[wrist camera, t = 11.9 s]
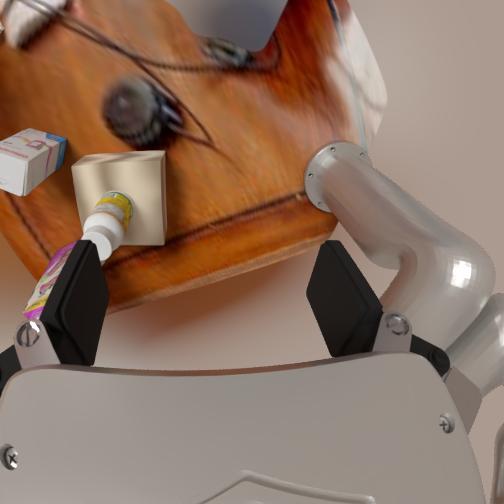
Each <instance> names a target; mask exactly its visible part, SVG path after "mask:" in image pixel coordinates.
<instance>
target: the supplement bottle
mask: <svg viewBox="0 0 504 504" xmlns="http://www.w3.org/2000/svg"><path fill="white" fill-rule="evenodd" d="M132 216H133V203H132V201H131V199H130V197H129V196H128V195H126V194H125V193H123V192H121V191H115V190H114V191H109V192H107V193H105V194H104V195H103V196H102V197H101V199H100V200H99V202H98V203H97V205H96V206H95V208H94V209H93V211H92V212H91V214H90V215H89V217H88V218H87V220H86V221H85V224H84V228H83V232H84V235H83V237H82V239H81V240H92V242H93V243H95V244H96V246H97V250H98V254H99V258H100V261H103V260H106V259H107V258H109V257H110V255H111V253H112V251H113V250H115V249H116V248H118V247H119V246H120V244H121V242H122V240H123V238H124V235H125V233H126V230H127V228H128V225H129V223H130V220H131V218H132Z"/></svg>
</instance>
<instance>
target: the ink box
mask: <svg viewBox="0 0 504 504" xmlns="http://www.w3.org/2000/svg"><path fill="white" fill-rule="evenodd" d="M66 142H67V138H63V137H60V136H57V135H53V134H49V133H46V132H42V131H38V130H34V129H31V128H28V129H26V130H24V131H22V132H19V133H17V134H15V135H13V136H11V137H9V138H7V139H5V140H3V141H1V142H0V189H3V190H5V191H8V192H11V193H13V194H16V195H18V196H21V195H24V196H26V195H27V194H28V193H29V192H30V191H32V190H33V189H34V188H35V187H36V186H37V185H39V184H40V183H41V182H42V181H43V180H44V179H46V178H47V177H48V176H49V175H51V174H52V173H53V172H54V171H56V170H57V169H58V168H60V167H61V166H62V163H63V158H64V152H65V147H66Z"/></svg>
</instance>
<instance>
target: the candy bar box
mask: <svg viewBox="0 0 504 504" xmlns="http://www.w3.org/2000/svg"><path fill="white" fill-rule="evenodd" d="M81 239H82V238H81ZM81 239H79V240H81ZM77 241H78V240H77ZM77 241H75V242H73V243H71V244H69V245H67V246H65V247H64V248H62V249H60V250H58V251H57V252H56V253H55V255H54V257H53V258H52V260H51V262H50V263H49V265H48V267H47V268H46V270H45V272H44V274H43V275H42V277H41V279H40V281H39V283H38V284H37V286H36V288H35V290H34V292H33V294H32V296H31V298H30V300H29V302H28V304H27V306H26V308H25V310H24V312H23V314H24V315H25V316H26V317H27V318H28V319H32V318H34V319H38V320H39V317H40V315H41V312H42V310H43V307H44V305H45V303H46V301H47V298H48V296H49V294H50V292H51V290H52V287H53V285H54V283H55V281H56V279H57V277H58V275H59V274H60V272H61V270H62V268H63V266H64V264H65V262H66V260H67V258H68V256H69V254H70V253H71V251H72V249H73V247H74V245H75V244H76V242H77ZM100 262H101V265H102V267H103V265H104V263H105V260H103V261H100Z"/></svg>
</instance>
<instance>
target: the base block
mask: <svg viewBox="0 0 504 504" xmlns="http://www.w3.org/2000/svg"><path fill="white" fill-rule="evenodd" d="M71 168H72V176H73V182H74V189H75V195H76V200H77V206H78V211H79V216H80V221H81V225H82V230H83V228H84V224H85V221H86V220H87V218H88V217H89V215H90V214H91V212H92V211H93V209H94V208H95V206H96V205H97V203H98V202H99V200H100V199H101V197H102V196H103V195H104V194H105V193H107V192H109V191H114V190H115V191H121V192H123V193H125V194H126V195H128V196H129V197H130V199H131V201H132V203H133V216H132V218H131V220H130V223H129V225H128V228H127V230H126V233H125V235H124V238H123V240H122V242H121V244H120V245H164V243H165V238H166V232H167V211H166V172H165V151H137V152H120V153H106V154H94V155H85V156H83V157H82V158H81V159H80V160H78V161H77V162H76V163H75V164H74V165H72V166H71ZM83 234H84V232H83Z"/></svg>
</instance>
